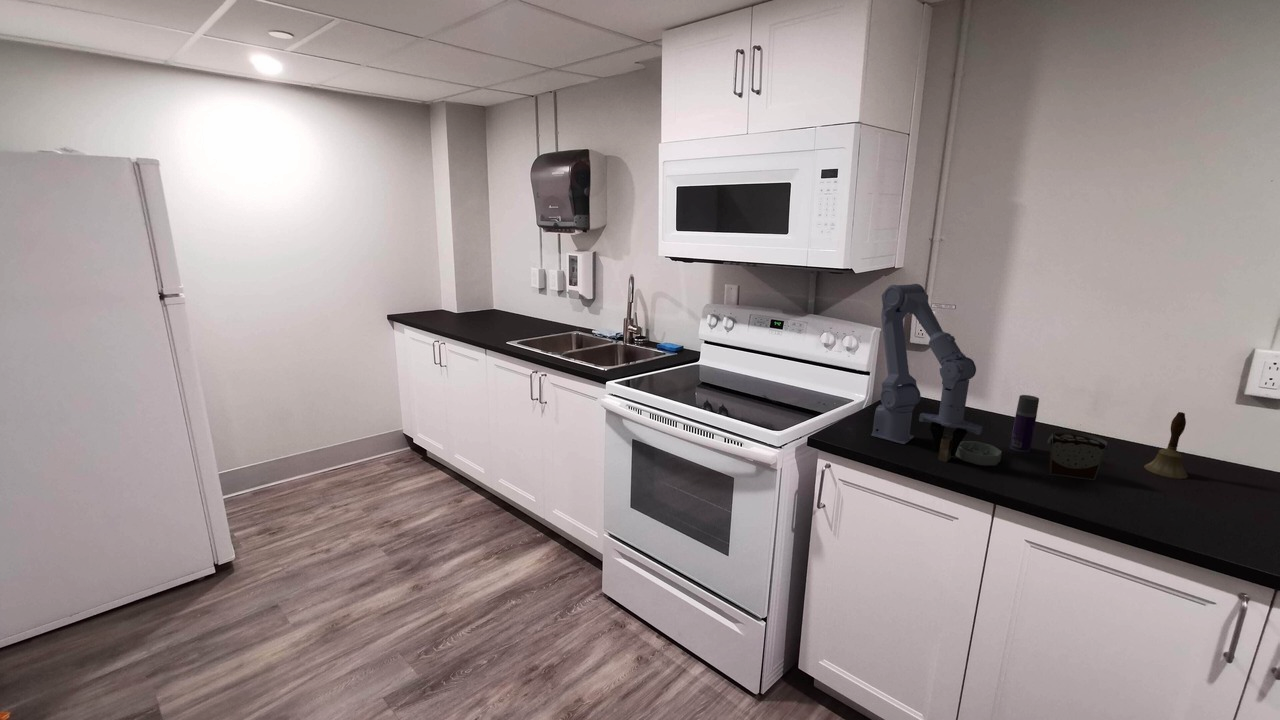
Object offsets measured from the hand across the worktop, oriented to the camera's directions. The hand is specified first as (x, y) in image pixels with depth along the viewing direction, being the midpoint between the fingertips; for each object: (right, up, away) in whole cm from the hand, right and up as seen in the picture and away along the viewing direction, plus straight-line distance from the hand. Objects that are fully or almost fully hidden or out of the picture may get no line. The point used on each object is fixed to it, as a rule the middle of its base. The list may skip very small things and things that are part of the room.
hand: (945, 452), depth 152 cm
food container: (+27, -4, -7) cm, 28 cm away
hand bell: (+53, -4, -6) cm, 53 cm away
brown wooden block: (0, -2, 0) cm, 2 cm away
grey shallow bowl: (+9, -1, +1) cm, 9 cm away
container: (+25, 0, +7) cm, 26 cm away
